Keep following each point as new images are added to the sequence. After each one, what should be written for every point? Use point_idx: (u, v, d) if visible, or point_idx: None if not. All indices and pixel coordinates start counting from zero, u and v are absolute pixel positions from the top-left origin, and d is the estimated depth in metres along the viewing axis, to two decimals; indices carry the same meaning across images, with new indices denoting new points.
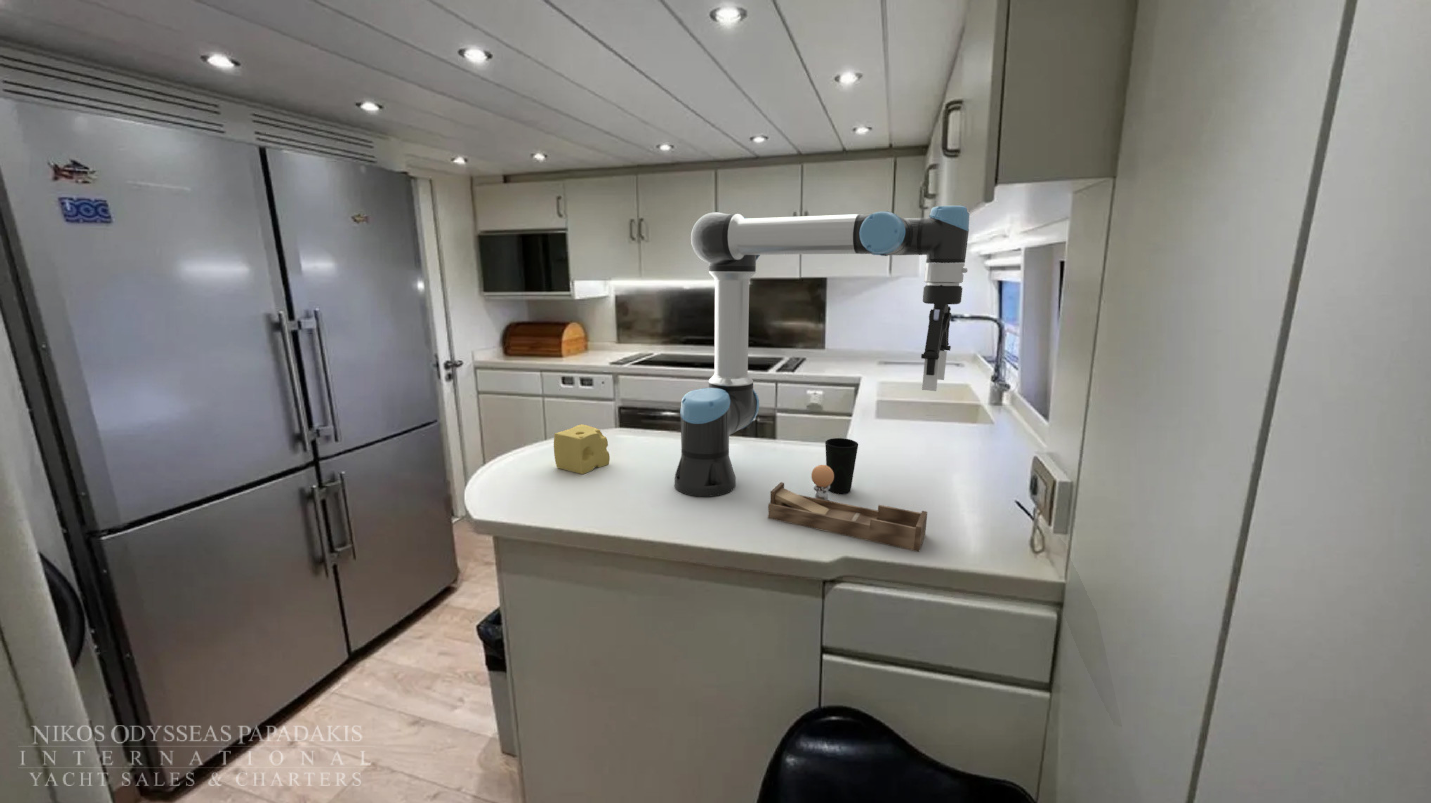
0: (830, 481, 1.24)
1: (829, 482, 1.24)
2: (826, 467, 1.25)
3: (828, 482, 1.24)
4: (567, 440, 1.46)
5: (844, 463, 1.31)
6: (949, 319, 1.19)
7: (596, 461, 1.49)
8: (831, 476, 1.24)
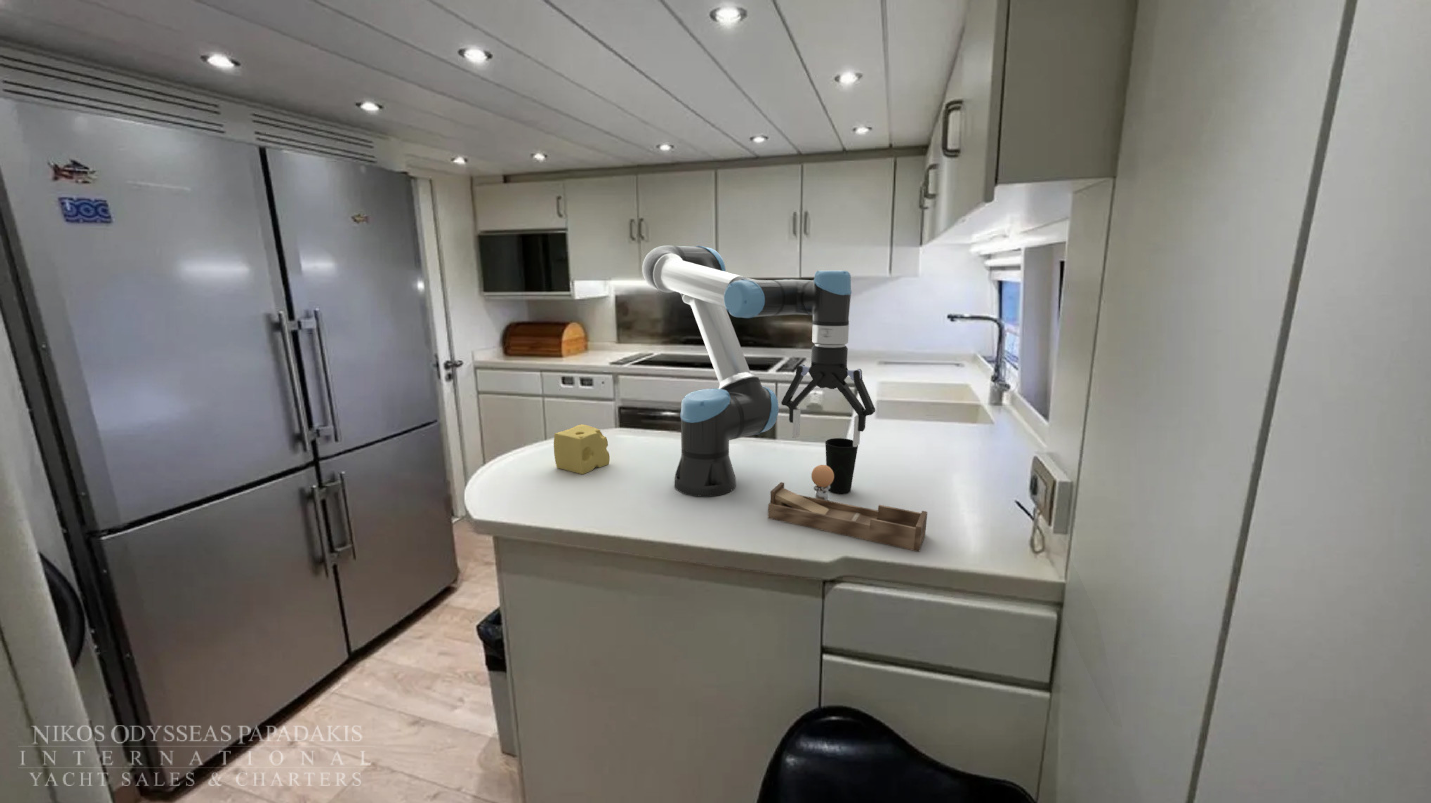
0: (830, 481, 1.24)
1: (829, 482, 1.24)
2: (826, 467, 1.25)
3: (828, 482, 1.24)
4: (567, 440, 1.46)
5: (844, 463, 1.31)
6: (831, 380, 1.19)
7: (596, 461, 1.49)
8: (831, 476, 1.24)
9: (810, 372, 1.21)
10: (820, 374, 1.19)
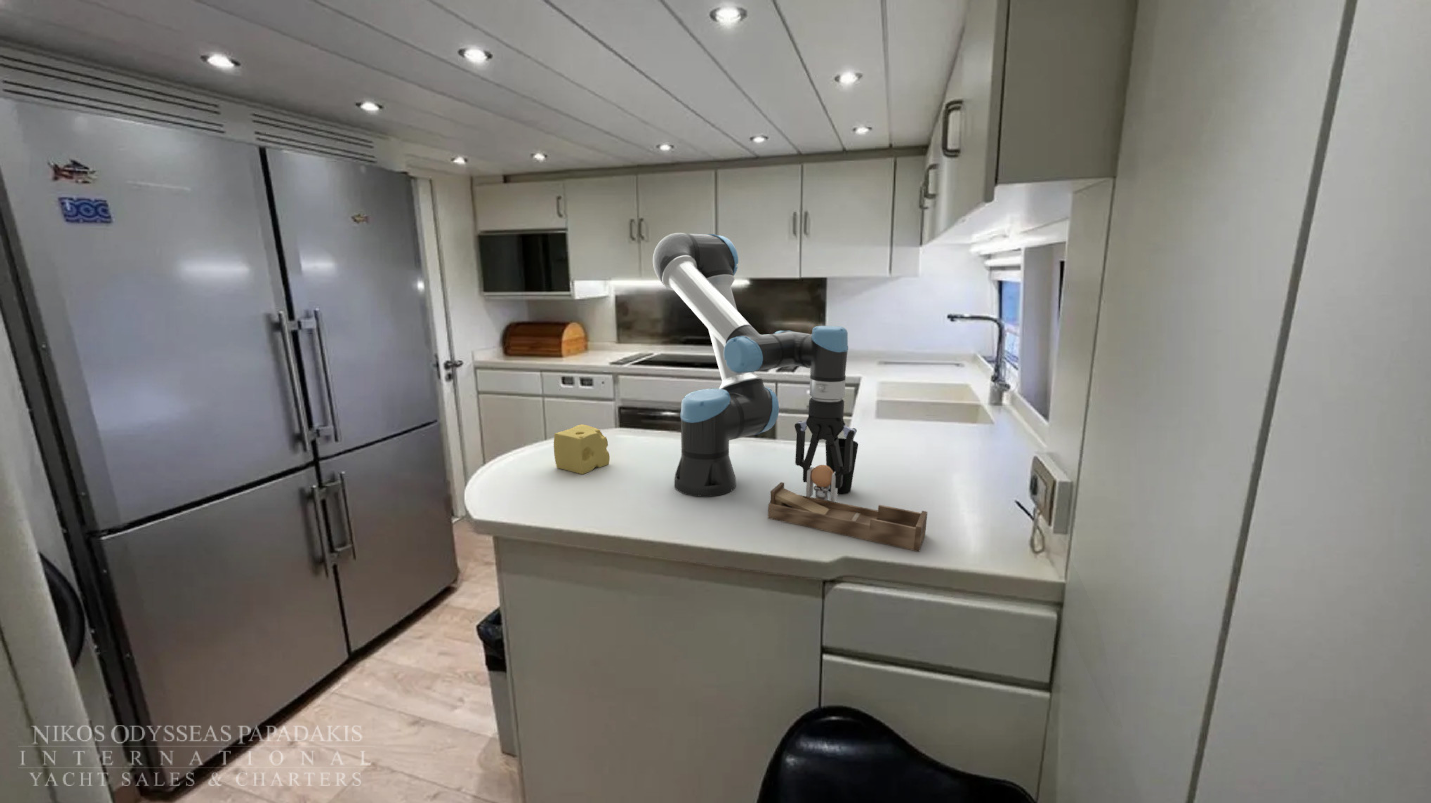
0: (830, 481, 1.24)
1: (829, 482, 1.24)
2: (826, 467, 1.25)
3: (828, 482, 1.24)
4: (567, 440, 1.46)
5: None
6: (826, 432, 1.21)
7: (596, 461, 1.49)
8: (831, 476, 1.24)
9: (808, 425, 1.24)
10: (816, 426, 1.22)
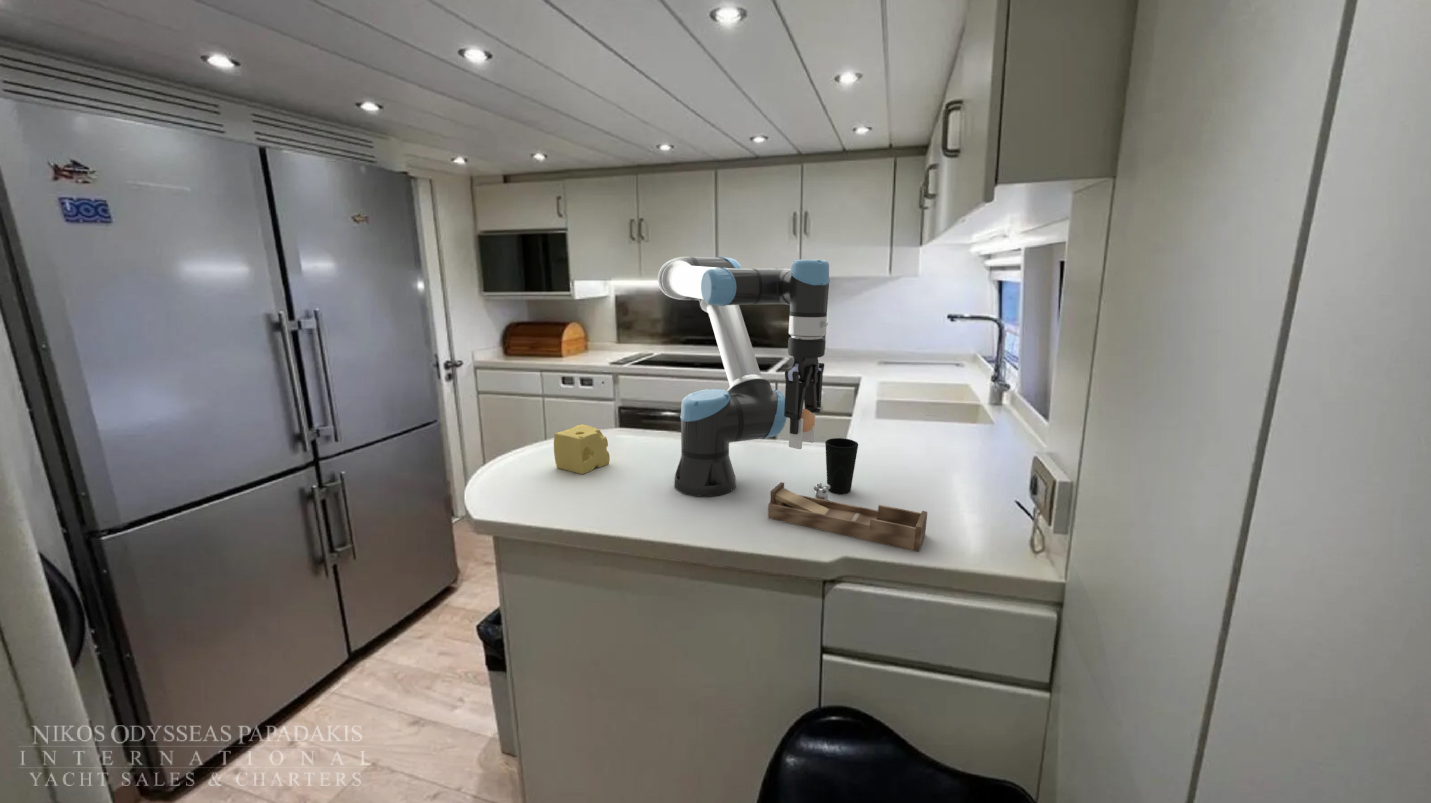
0: None
1: None
2: (806, 409, 1.20)
3: None
4: (567, 440, 1.46)
5: (844, 463, 1.31)
6: (814, 371, 1.17)
7: (596, 461, 1.49)
8: None
9: (802, 369, 1.13)
10: (811, 368, 1.15)
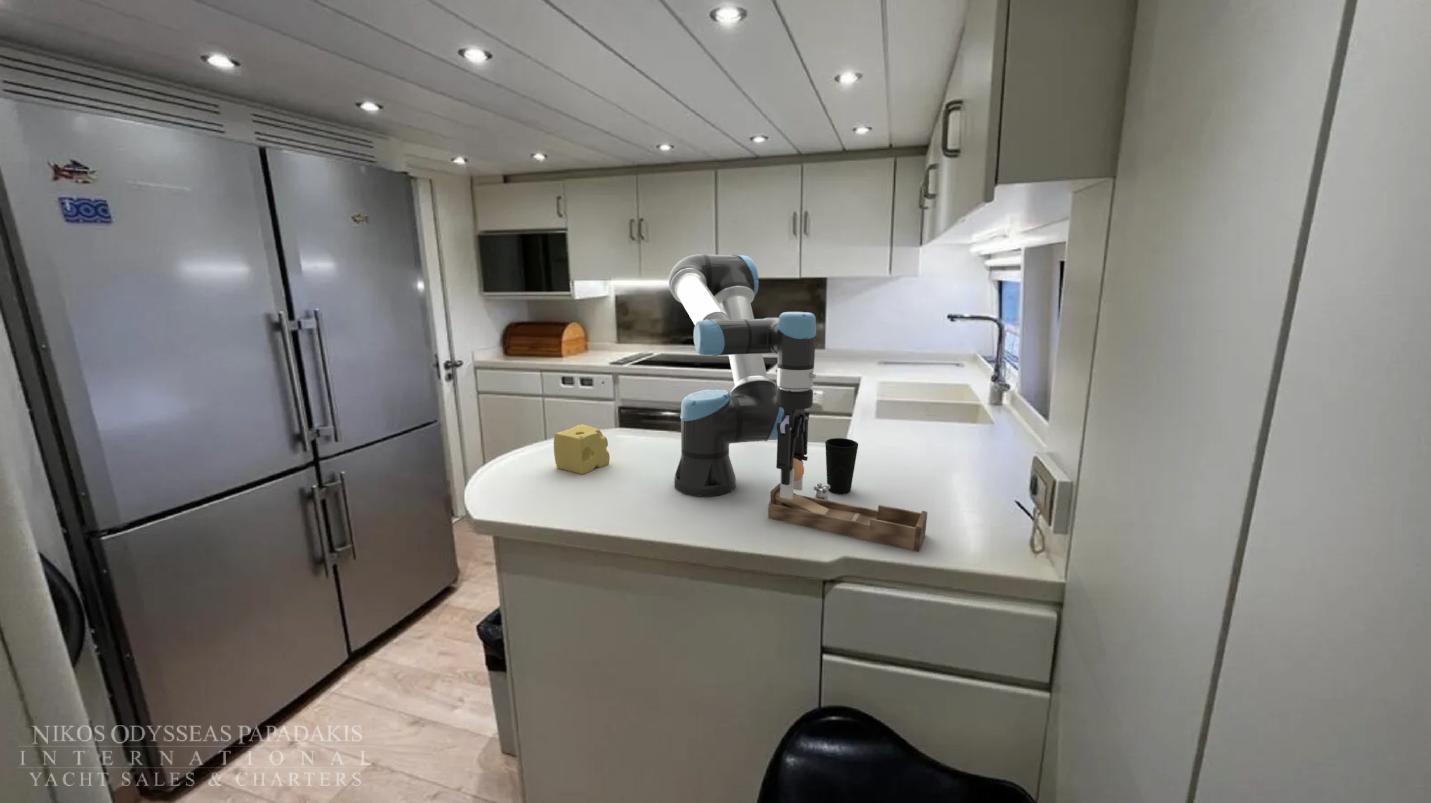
0: None
1: None
2: None
3: None
4: (567, 440, 1.46)
5: (844, 463, 1.31)
6: (803, 421, 1.18)
7: (596, 462, 1.49)
8: None
9: (792, 421, 1.14)
10: (800, 418, 1.15)
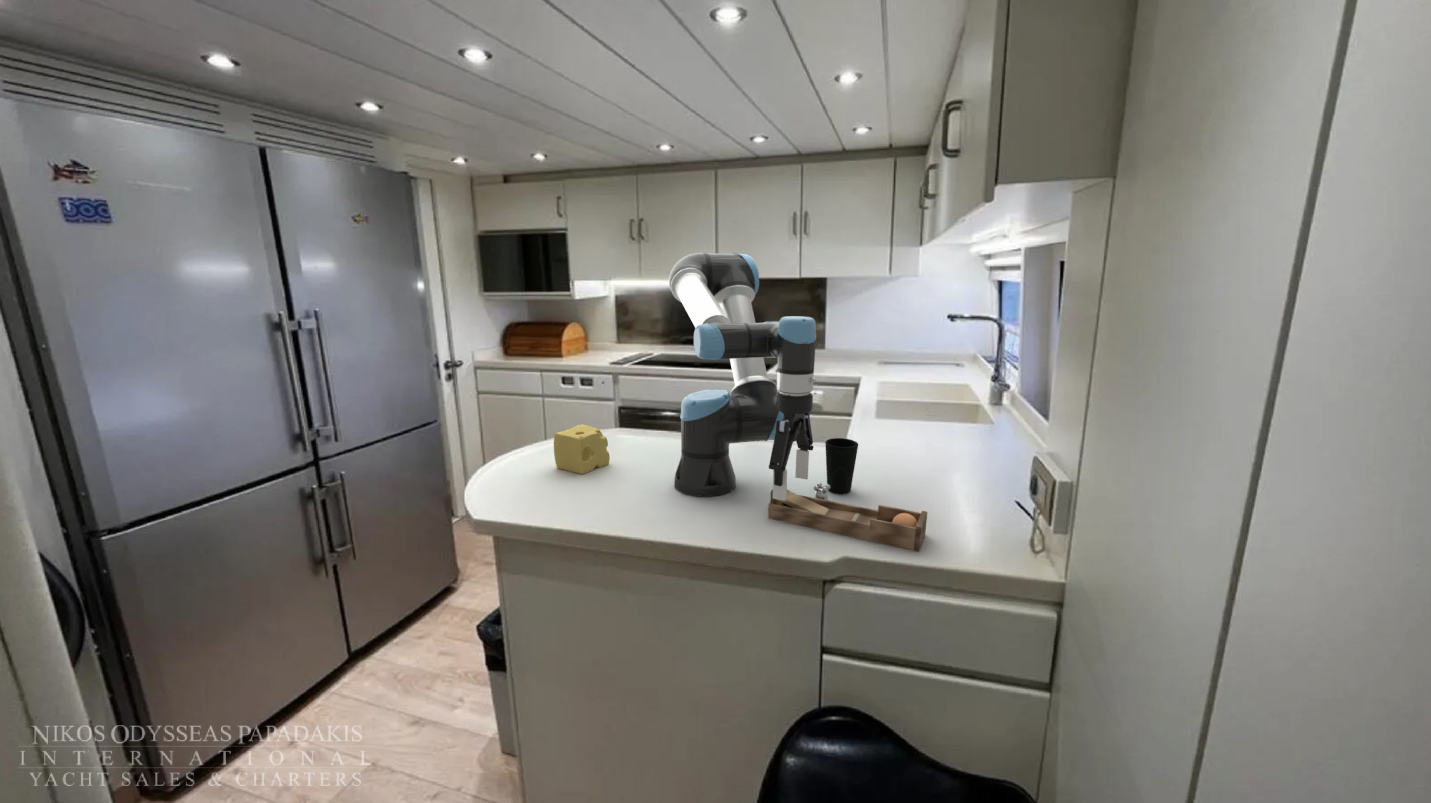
0: None
1: None
2: None
3: None
4: (567, 440, 1.46)
5: (844, 463, 1.31)
6: (803, 425, 1.18)
7: (596, 462, 1.49)
8: None
9: (792, 425, 1.14)
10: (800, 423, 1.16)
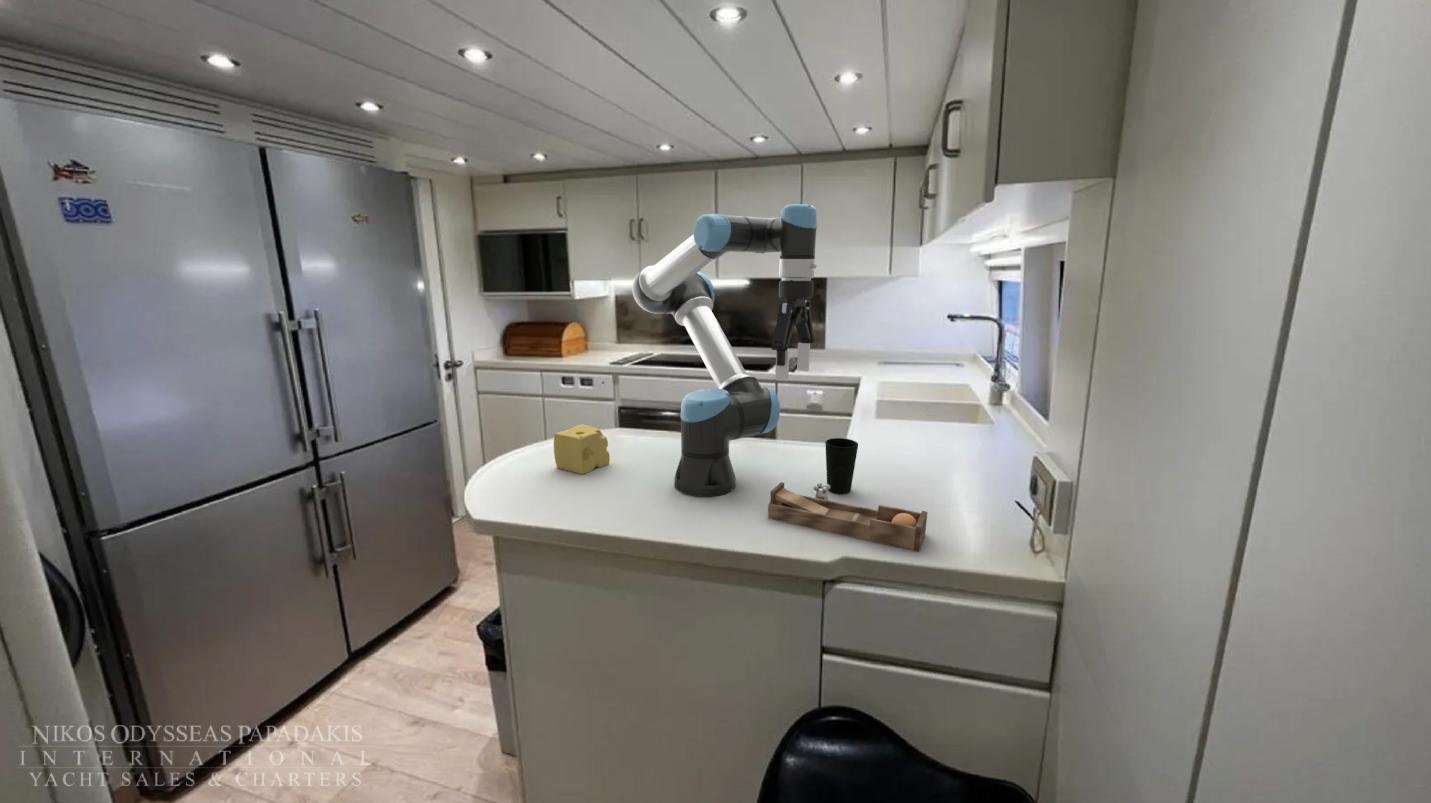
0: None
1: None
2: None
3: None
4: (567, 440, 1.46)
5: (844, 463, 1.31)
6: (804, 313, 1.24)
7: (596, 461, 1.49)
8: None
9: (794, 308, 1.20)
10: (802, 308, 1.22)
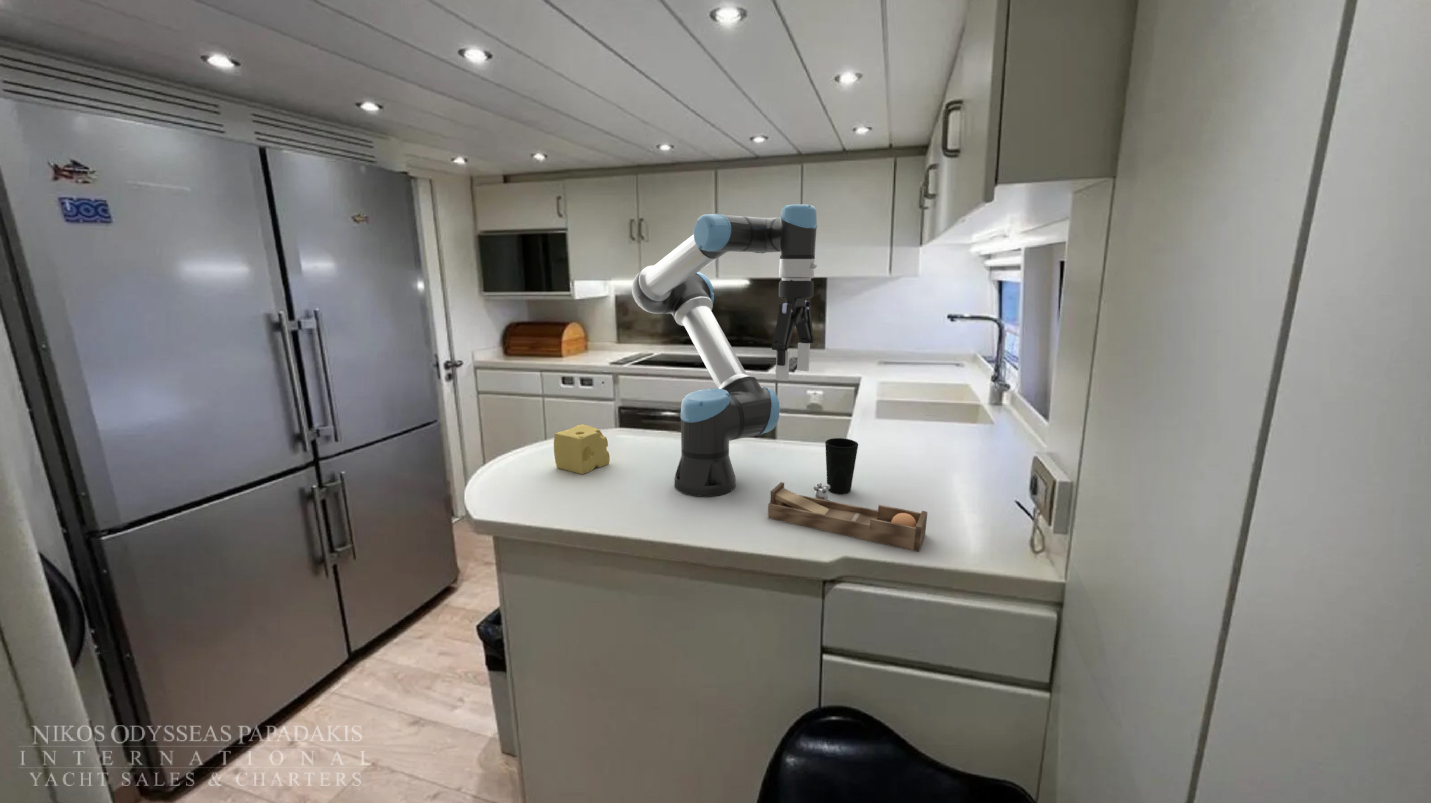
0: None
1: None
2: None
3: None
4: (567, 440, 1.46)
5: (844, 463, 1.31)
6: (804, 313, 1.25)
7: (596, 461, 1.49)
8: None
9: (794, 308, 1.20)
10: (802, 308, 1.22)
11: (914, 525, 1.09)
